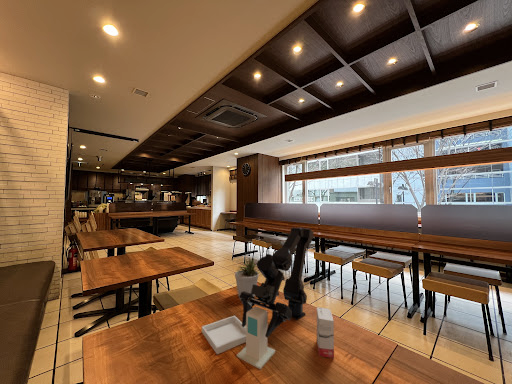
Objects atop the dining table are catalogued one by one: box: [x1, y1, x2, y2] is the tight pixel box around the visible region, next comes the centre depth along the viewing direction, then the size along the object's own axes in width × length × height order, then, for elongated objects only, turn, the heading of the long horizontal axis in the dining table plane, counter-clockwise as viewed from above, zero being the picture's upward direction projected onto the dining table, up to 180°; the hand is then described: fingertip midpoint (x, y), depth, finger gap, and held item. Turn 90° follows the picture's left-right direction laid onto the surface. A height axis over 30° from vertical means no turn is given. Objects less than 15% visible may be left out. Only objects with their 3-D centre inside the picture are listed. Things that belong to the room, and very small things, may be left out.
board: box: [236, 345, 276, 370], centre depth 69 cm, size 9×9×1 cm
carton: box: [245, 305, 269, 360], centre depth 69 cm, size 5×5×13 cm
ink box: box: [316, 307, 335, 359], centre depth 73 cm, size 9×5×12 cm, turn 168°
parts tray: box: [201, 315, 246, 355], centre depth 78 cm, size 14×14×2 cm
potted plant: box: [234, 257, 262, 297], centre depth 112 cm, size 13×14×20 cm
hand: (254, 331), depth 68 cm, fingers open, 9 cm apart
